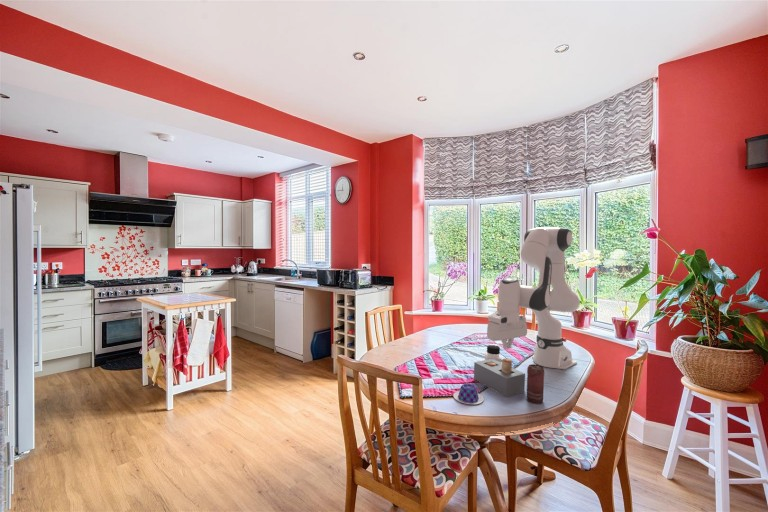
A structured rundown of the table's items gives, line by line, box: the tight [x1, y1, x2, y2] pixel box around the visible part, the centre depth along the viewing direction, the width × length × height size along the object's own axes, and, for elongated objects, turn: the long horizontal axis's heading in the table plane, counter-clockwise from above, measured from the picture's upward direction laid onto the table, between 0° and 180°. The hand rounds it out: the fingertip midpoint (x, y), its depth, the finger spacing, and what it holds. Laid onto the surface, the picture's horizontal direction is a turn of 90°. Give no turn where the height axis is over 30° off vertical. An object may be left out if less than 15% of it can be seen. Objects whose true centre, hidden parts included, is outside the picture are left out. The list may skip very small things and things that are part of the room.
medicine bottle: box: [484, 344, 503, 363], centre depth 165 cm, size 7×7×12 cm
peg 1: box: [487, 362, 496, 367], centre depth 151 cm, size 4×4×8 cm
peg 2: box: [501, 358, 513, 374], centre depth 142 cm, size 4×4×8 cm
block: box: [473, 359, 526, 398], centre depth 147 cm, size 11×19×8 cm, turn 26°
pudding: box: [452, 383, 485, 405], centre depth 135 cm, size 12×12×5 cm
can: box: [526, 363, 545, 405], centre depth 133 cm, size 6×6×14 cm
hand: (507, 348), depth 142 cm, fingers closed
